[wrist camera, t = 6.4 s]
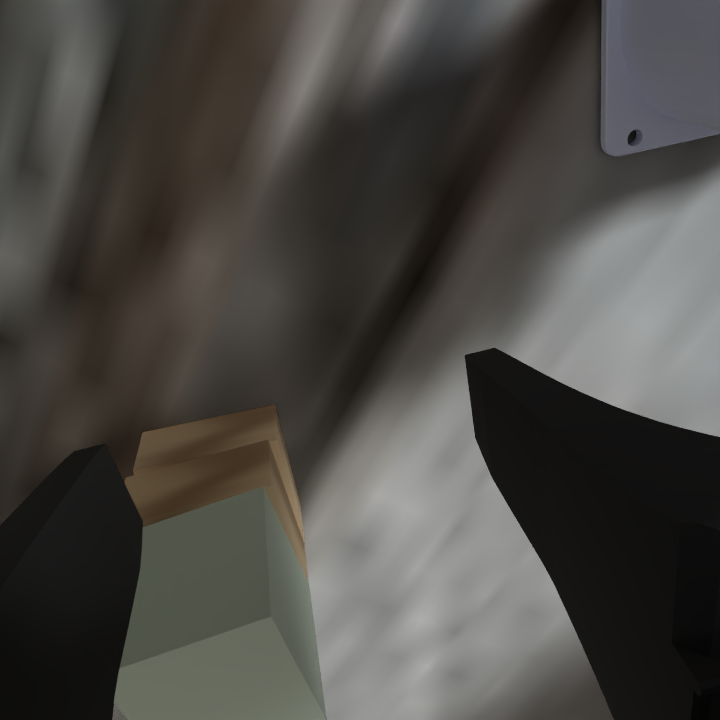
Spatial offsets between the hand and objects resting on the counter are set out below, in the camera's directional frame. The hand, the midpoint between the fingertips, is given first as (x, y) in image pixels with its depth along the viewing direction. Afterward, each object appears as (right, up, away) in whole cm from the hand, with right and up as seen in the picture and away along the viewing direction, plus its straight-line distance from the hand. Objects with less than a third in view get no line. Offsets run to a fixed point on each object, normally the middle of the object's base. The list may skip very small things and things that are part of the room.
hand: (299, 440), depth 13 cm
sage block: (-3, -5, +8) cm, 10 cm away
